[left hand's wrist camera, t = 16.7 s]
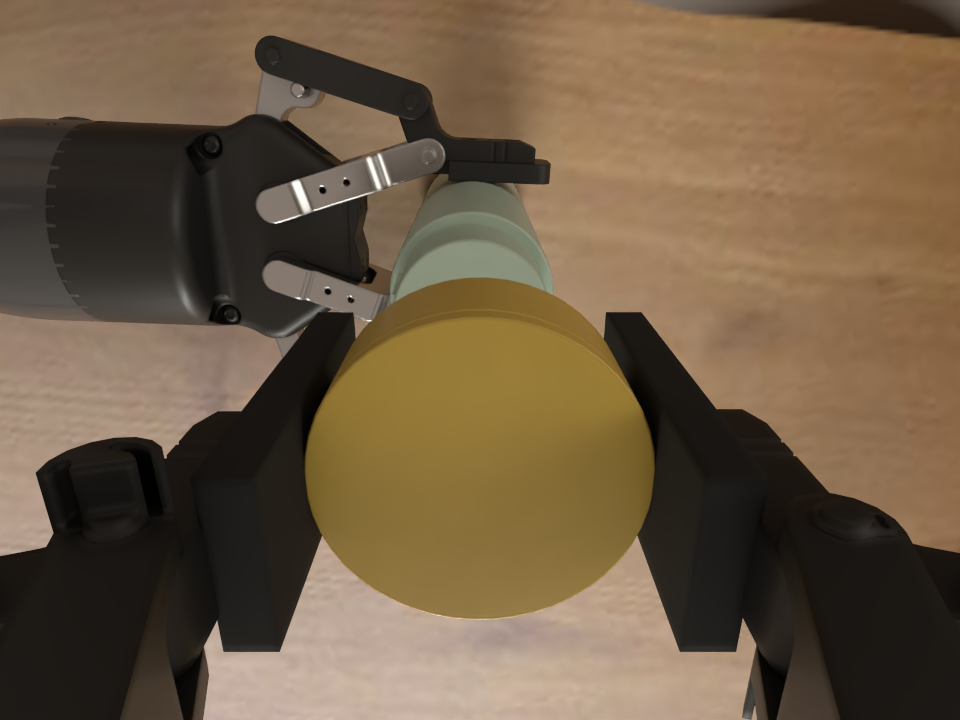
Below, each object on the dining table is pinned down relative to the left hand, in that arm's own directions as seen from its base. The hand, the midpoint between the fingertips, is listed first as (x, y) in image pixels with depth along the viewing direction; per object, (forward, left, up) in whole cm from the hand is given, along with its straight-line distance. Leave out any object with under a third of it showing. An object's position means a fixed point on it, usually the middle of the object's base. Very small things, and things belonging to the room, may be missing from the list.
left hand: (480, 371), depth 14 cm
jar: (0, 0, -18) cm, 18 cm away
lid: (0, 0, +4) cm, 4 cm away
